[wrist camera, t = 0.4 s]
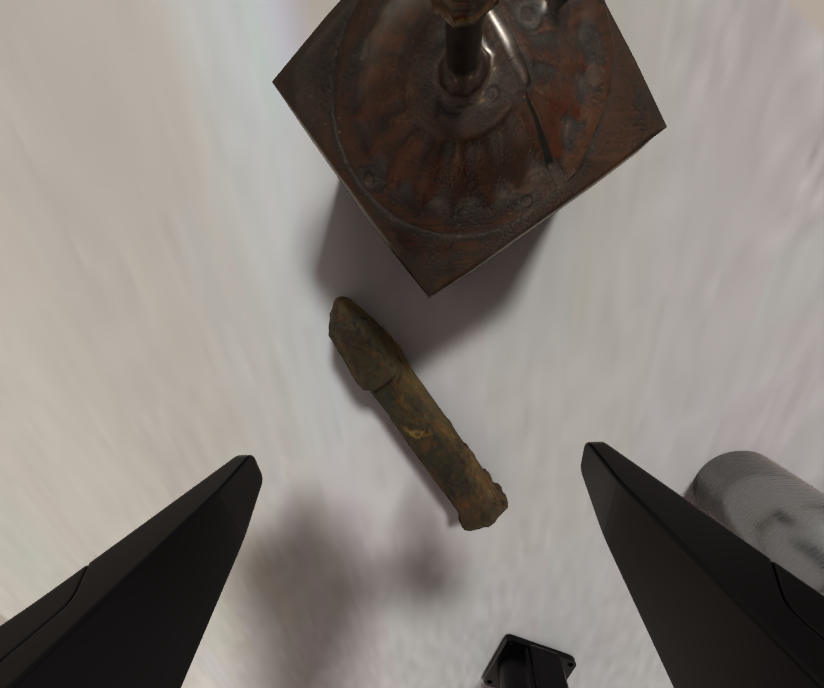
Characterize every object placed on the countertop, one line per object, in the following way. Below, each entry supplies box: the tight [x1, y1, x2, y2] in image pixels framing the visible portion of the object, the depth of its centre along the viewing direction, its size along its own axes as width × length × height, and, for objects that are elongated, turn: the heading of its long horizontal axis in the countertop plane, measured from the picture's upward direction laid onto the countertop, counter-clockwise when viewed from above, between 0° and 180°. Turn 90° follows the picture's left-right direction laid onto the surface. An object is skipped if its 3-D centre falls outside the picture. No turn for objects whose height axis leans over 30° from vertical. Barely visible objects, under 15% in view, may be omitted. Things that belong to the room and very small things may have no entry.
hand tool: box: [329, 296, 508, 531], centre depth 23 cm, size 19×4×5 cm, turn 32°
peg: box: [694, 451, 824, 595], centre depth 20 cm, size 6×6×8 cm
